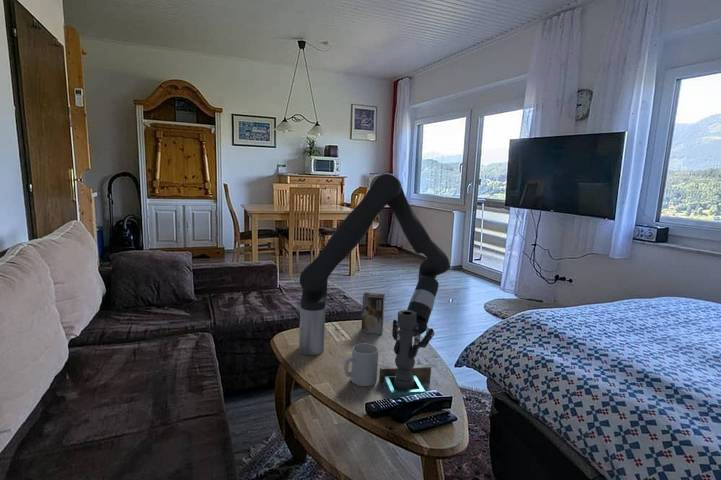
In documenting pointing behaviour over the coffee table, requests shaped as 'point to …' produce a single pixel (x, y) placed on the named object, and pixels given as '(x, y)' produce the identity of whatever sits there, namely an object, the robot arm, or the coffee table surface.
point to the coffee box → (373, 313)
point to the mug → (363, 364)
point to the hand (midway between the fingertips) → (403, 355)
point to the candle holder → (405, 351)
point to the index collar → (393, 394)
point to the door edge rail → (419, 370)
